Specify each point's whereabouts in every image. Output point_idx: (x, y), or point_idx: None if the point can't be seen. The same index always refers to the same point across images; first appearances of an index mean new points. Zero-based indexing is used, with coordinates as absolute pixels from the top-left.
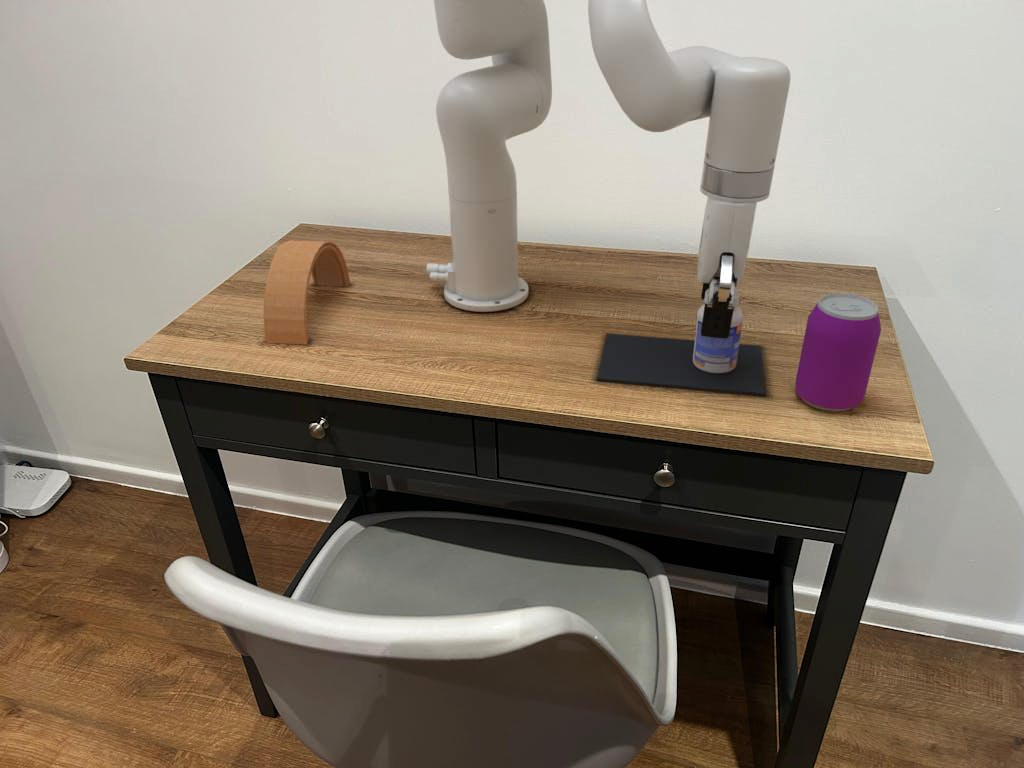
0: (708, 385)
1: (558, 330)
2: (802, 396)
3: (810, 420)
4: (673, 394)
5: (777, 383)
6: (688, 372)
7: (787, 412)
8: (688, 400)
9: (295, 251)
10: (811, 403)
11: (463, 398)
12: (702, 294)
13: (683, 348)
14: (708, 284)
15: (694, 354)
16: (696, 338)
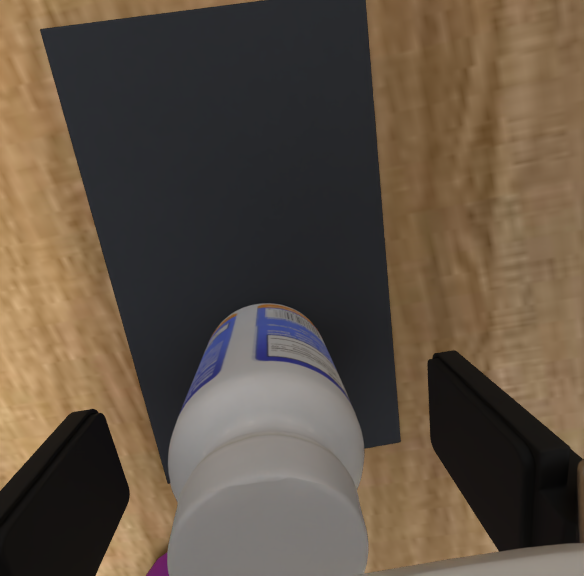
0: (146, 361)
1: None
2: (161, 559)
3: (110, 561)
4: (81, 281)
5: None
6: (194, 301)
7: (121, 521)
8: (69, 322)
9: None
10: (149, 571)
11: None
12: (445, 363)
13: (330, 263)
14: (470, 420)
15: (237, 317)
16: (228, 340)
